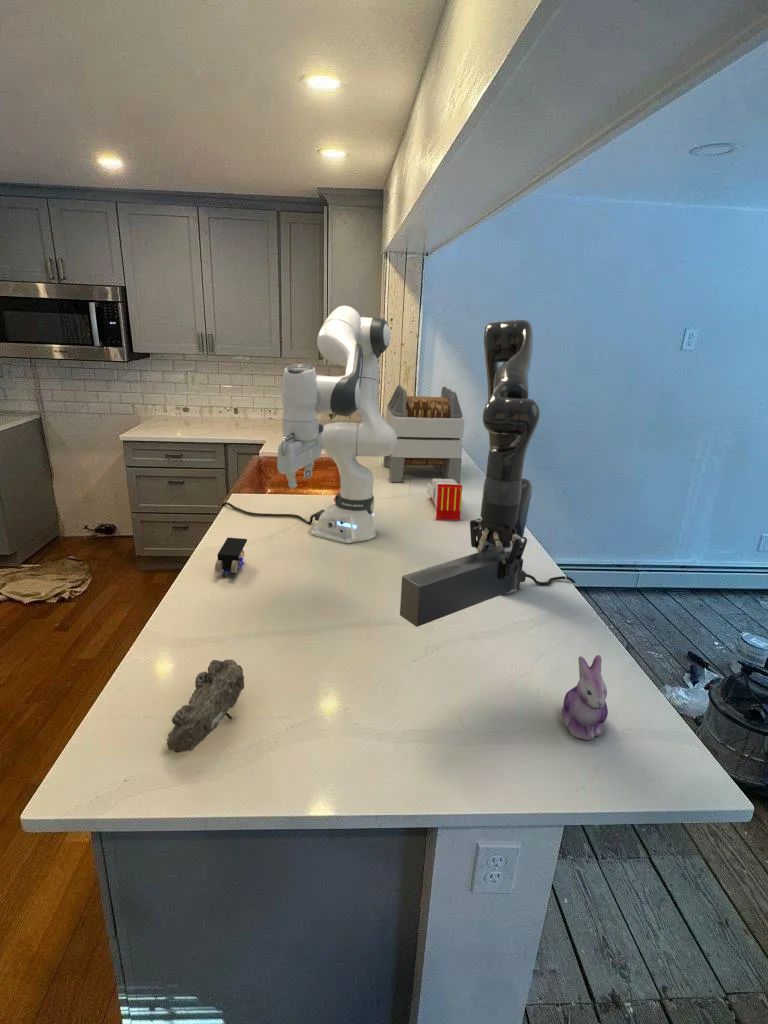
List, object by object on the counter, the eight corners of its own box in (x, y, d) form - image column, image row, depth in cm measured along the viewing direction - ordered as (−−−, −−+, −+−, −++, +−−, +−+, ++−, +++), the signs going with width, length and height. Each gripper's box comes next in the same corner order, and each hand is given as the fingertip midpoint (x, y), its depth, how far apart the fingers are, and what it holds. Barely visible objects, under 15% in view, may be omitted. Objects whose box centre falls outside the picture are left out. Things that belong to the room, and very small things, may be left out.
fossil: (192, 660, 117) (244, 628, 112) (224, 691, 120) (276, 661, 115) (142, 746, 98) (202, 712, 93) (182, 779, 101) (242, 748, 96)
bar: (416, 627, 106) (419, 586, 103) (399, 615, 110) (401, 575, 107) (510, 591, 121) (515, 555, 119) (492, 581, 125) (497, 546, 122)
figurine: (586, 749, 104) (600, 681, 99) (547, 715, 112) (558, 650, 107) (622, 734, 108) (637, 668, 103) (582, 702, 117) (594, 639, 112)
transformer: (382, 463, 289) (386, 382, 275) (445, 464, 293) (451, 384, 279) (390, 482, 257) (394, 392, 243) (460, 483, 261) (468, 394, 247)
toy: (454, 474, 240) (466, 486, 210) (452, 505, 242) (464, 521, 213) (426, 473, 239) (434, 485, 210) (424, 504, 242) (432, 520, 212)
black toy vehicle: (238, 584, 162) (249, 557, 175) (236, 562, 158) (247, 536, 172) (215, 584, 161) (227, 556, 175) (212, 561, 158) (225, 535, 171)
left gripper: (294, 439, 133) (294, 495, 138) (326, 424, 152) (325, 473, 157) (269, 436, 135) (271, 492, 140) (304, 422, 154) (304, 471, 158)
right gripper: (542, 504, 111) (530, 582, 117) (487, 485, 122) (480, 557, 127) (516, 511, 107) (506, 591, 112) (462, 491, 117) (455, 565, 123)
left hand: (300, 482), depth 148 cm, fingers open, 8 cm apart
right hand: (492, 573), depth 120 cm, fingers closed on bar, 5 cm apart
